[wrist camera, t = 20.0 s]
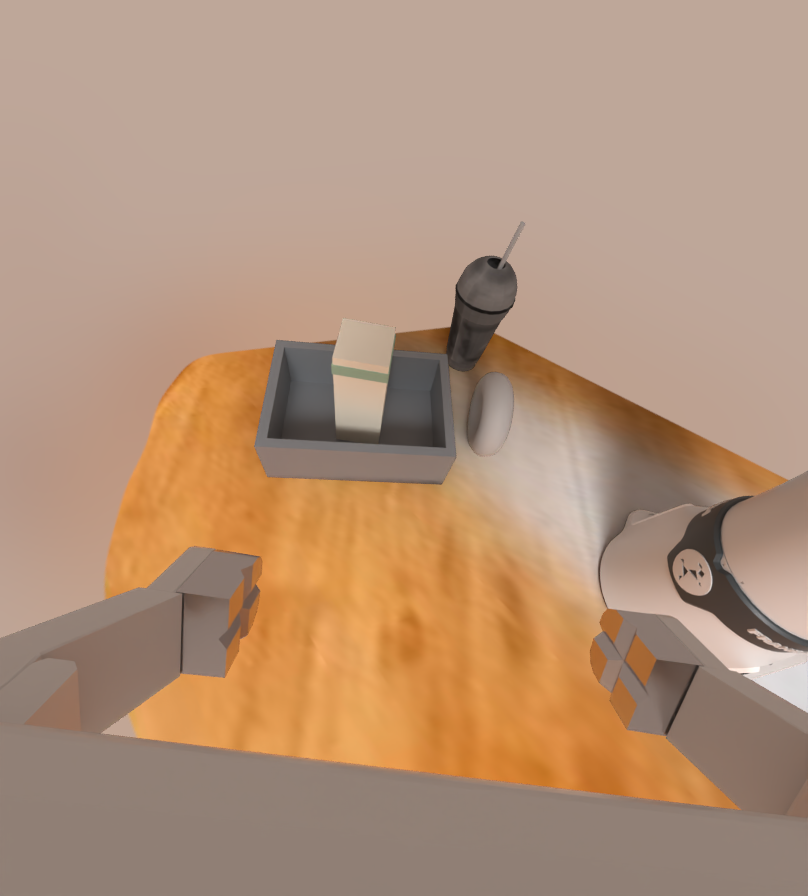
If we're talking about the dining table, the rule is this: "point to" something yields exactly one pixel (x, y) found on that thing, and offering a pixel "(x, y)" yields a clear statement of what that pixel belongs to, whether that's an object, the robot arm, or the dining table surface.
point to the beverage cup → (480, 306)
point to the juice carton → (361, 379)
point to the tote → (314, 429)
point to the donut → (490, 414)
